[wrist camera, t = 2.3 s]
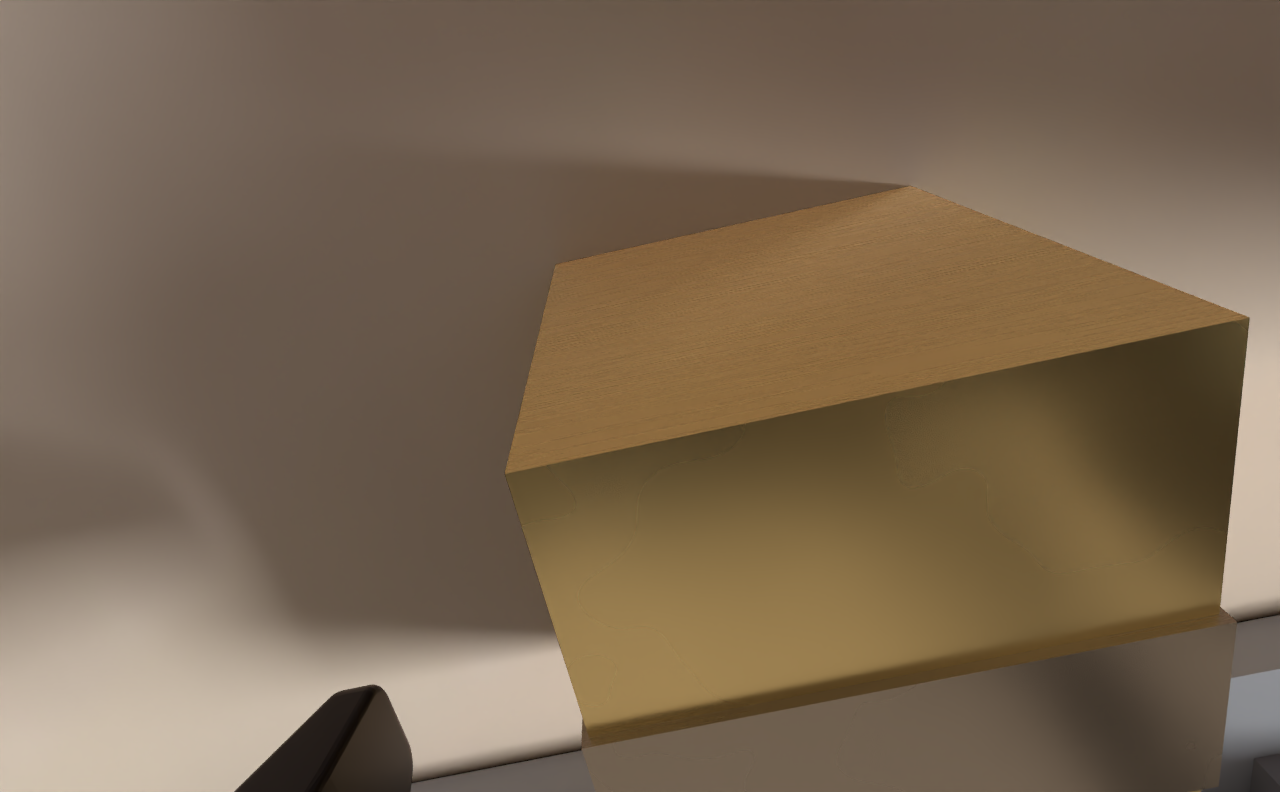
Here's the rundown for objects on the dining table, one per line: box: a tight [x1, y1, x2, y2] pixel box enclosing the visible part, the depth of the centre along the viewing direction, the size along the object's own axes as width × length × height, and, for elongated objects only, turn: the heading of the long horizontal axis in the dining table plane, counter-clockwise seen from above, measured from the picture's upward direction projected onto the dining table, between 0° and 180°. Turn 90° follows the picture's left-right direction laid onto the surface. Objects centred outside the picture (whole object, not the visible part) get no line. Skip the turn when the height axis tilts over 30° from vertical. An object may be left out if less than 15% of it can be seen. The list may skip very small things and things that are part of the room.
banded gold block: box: [505, 186, 1249, 792], centre depth 8 cm, size 6×5×6 cm
